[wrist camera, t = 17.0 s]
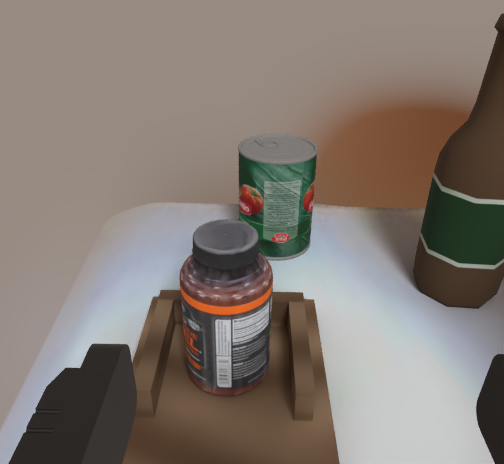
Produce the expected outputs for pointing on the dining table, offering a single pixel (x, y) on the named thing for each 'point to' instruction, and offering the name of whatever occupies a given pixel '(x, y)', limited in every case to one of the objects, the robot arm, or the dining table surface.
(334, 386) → the dining table surface
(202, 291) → the supplement bottle
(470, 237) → the beer bottle
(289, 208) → the canned tomato
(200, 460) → the walnut dock
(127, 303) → the dining table surface
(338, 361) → the dining table surface
